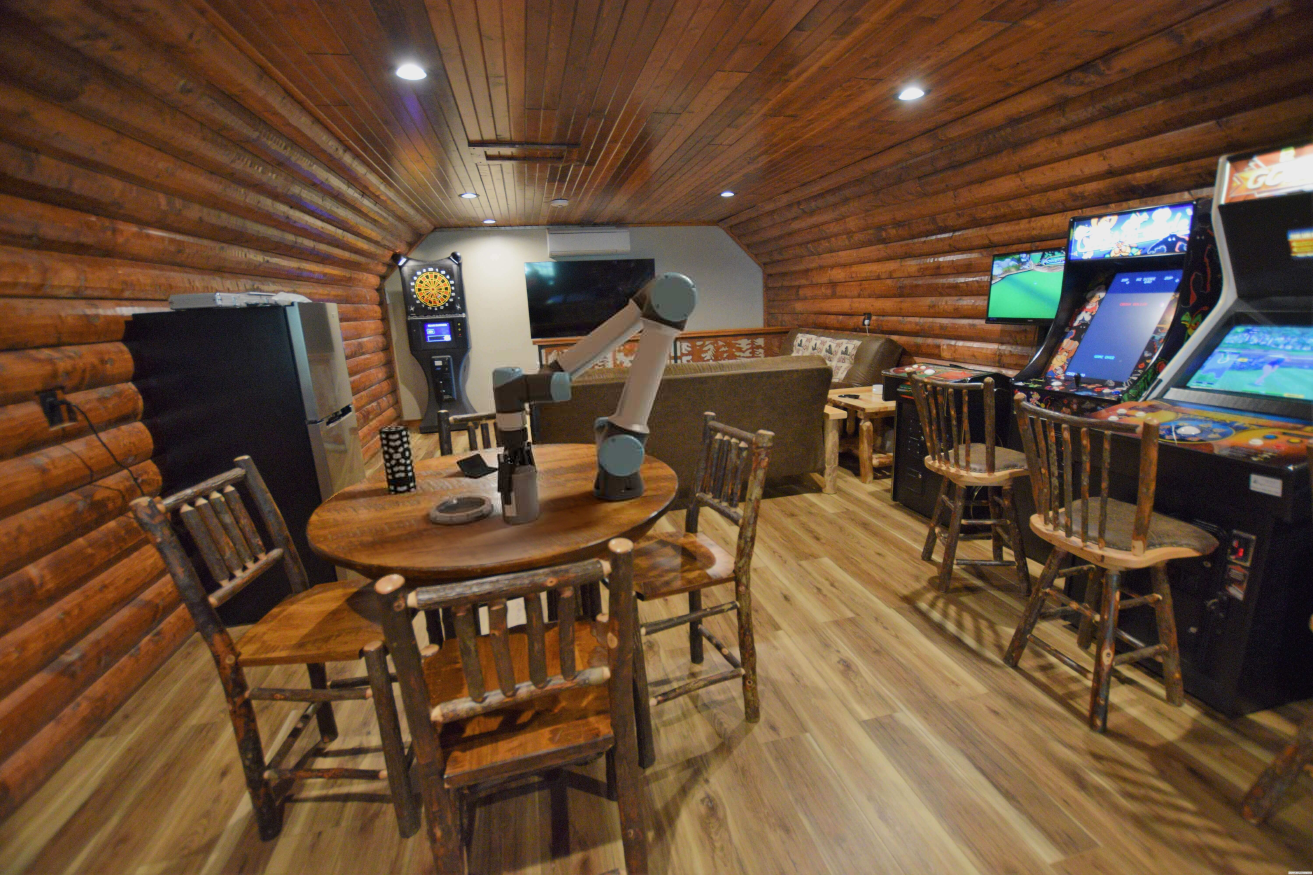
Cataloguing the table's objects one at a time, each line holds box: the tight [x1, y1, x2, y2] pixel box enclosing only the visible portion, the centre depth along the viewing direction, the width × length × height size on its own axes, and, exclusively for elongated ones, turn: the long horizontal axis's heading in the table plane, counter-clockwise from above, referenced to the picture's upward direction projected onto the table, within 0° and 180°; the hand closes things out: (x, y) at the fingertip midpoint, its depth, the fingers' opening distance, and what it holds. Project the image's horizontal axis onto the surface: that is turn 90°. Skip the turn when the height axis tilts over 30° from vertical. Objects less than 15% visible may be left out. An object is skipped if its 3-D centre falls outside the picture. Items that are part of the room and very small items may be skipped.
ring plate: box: [428, 494, 495, 526], centre depth 160 cm, size 17×17×2 cm
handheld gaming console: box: [455, 452, 498, 480], centre depth 198 cm, size 12×7×10 cm
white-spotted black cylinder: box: [378, 425, 418, 495], centre depth 181 cm, size 8×8×20 cm
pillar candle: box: [499, 464, 540, 525], centre depth 154 cm, size 10×10×15 cm
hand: (520, 508), depth 155 cm, fingers closed on pillar candle, 10 cm apart
